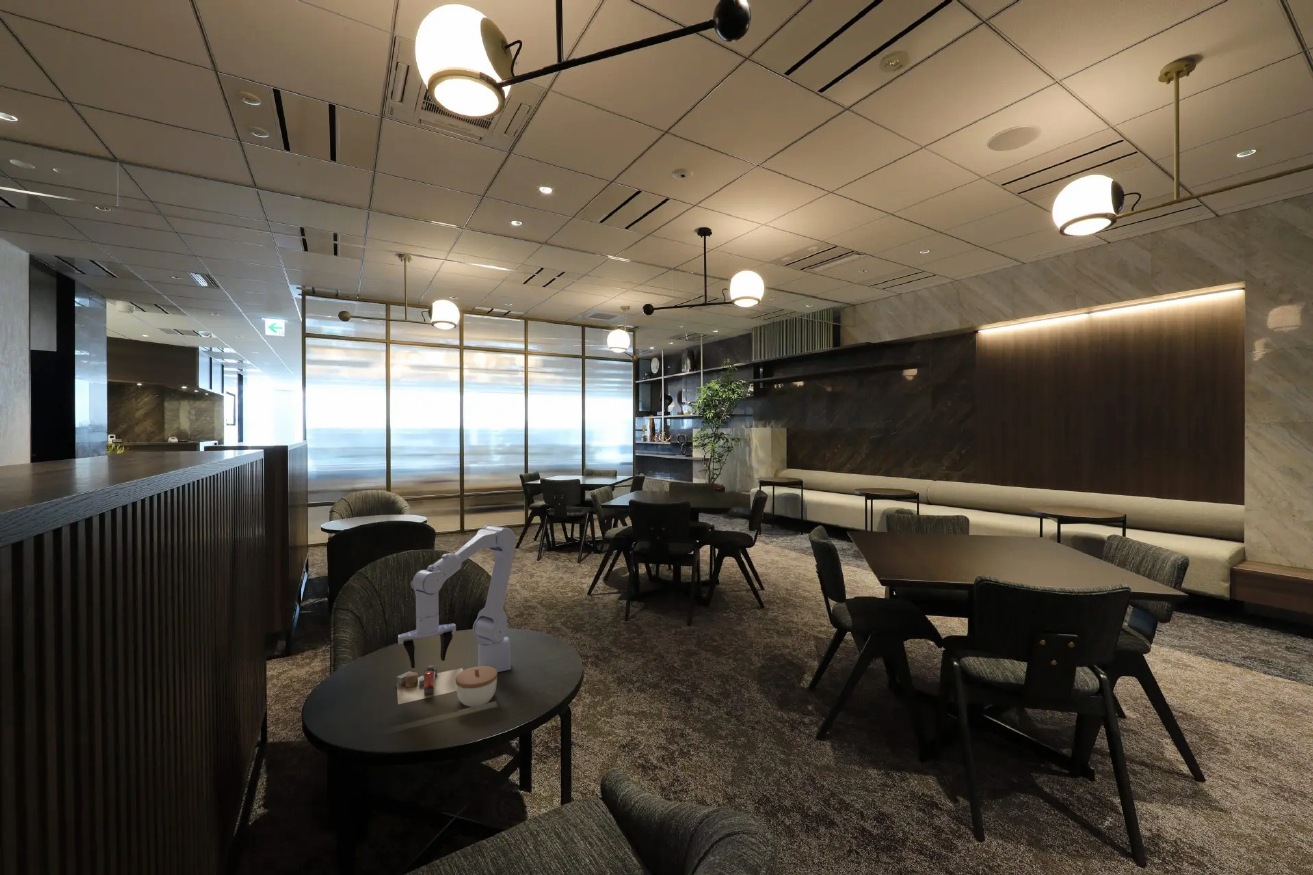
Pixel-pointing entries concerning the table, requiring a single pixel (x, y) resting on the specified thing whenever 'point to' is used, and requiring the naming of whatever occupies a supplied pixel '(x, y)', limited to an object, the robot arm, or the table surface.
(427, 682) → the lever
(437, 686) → the board
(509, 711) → the table surface
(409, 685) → the cork
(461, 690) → the lidded jar
